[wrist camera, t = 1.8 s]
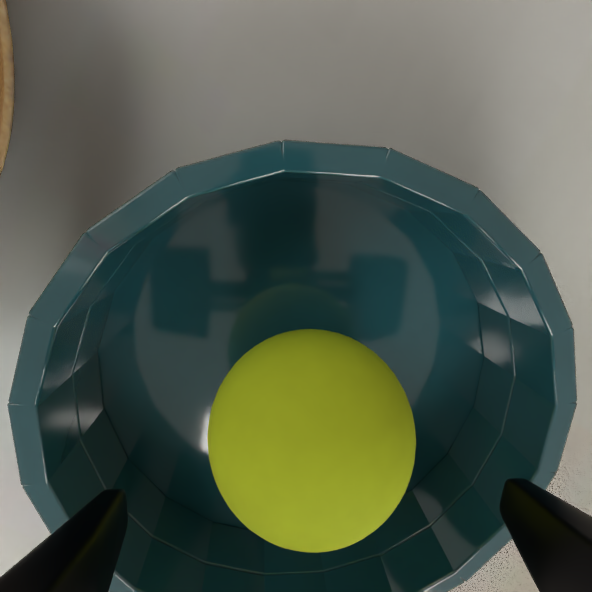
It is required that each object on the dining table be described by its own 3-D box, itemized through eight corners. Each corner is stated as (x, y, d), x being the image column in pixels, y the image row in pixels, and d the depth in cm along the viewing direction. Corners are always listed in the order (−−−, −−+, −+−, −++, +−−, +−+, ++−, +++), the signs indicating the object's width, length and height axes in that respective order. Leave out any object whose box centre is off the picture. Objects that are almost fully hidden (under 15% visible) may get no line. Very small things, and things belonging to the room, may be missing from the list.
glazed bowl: (453, 524, 17) (513, 626, 13) (106, 538, 15) (50, 660, 11) (526, 176, 13) (646, 166, 9) (65, 145, 11) (-44, 114, 7)
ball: (368, 446, 15) (437, 607, 9) (220, 448, 14) (190, 623, 8) (385, 307, 13) (483, 391, 7) (220, 302, 12) (184, 391, 7)
